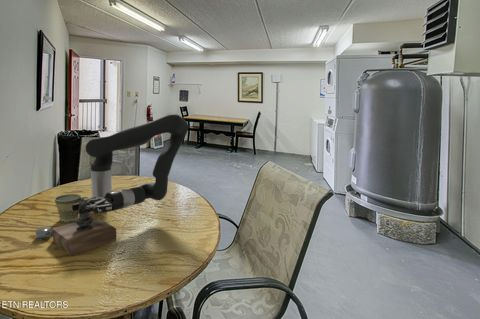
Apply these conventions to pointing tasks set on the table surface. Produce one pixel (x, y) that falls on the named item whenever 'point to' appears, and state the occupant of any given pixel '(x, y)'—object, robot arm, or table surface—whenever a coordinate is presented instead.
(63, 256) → the table surface
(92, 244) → the walnut stand
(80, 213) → the robot arm
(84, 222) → the salt shaker
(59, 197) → the ceramic cup
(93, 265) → the table surface
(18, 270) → the table surface
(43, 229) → the grey metal puck
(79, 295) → the table surface
